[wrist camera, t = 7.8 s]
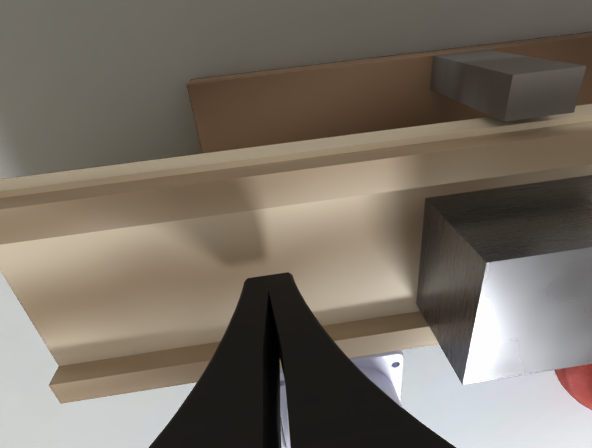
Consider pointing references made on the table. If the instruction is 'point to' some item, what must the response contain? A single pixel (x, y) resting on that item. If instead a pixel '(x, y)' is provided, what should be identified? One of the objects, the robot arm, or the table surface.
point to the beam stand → (393, 92)
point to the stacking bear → (578, 383)
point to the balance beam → (250, 241)
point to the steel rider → (509, 278)
